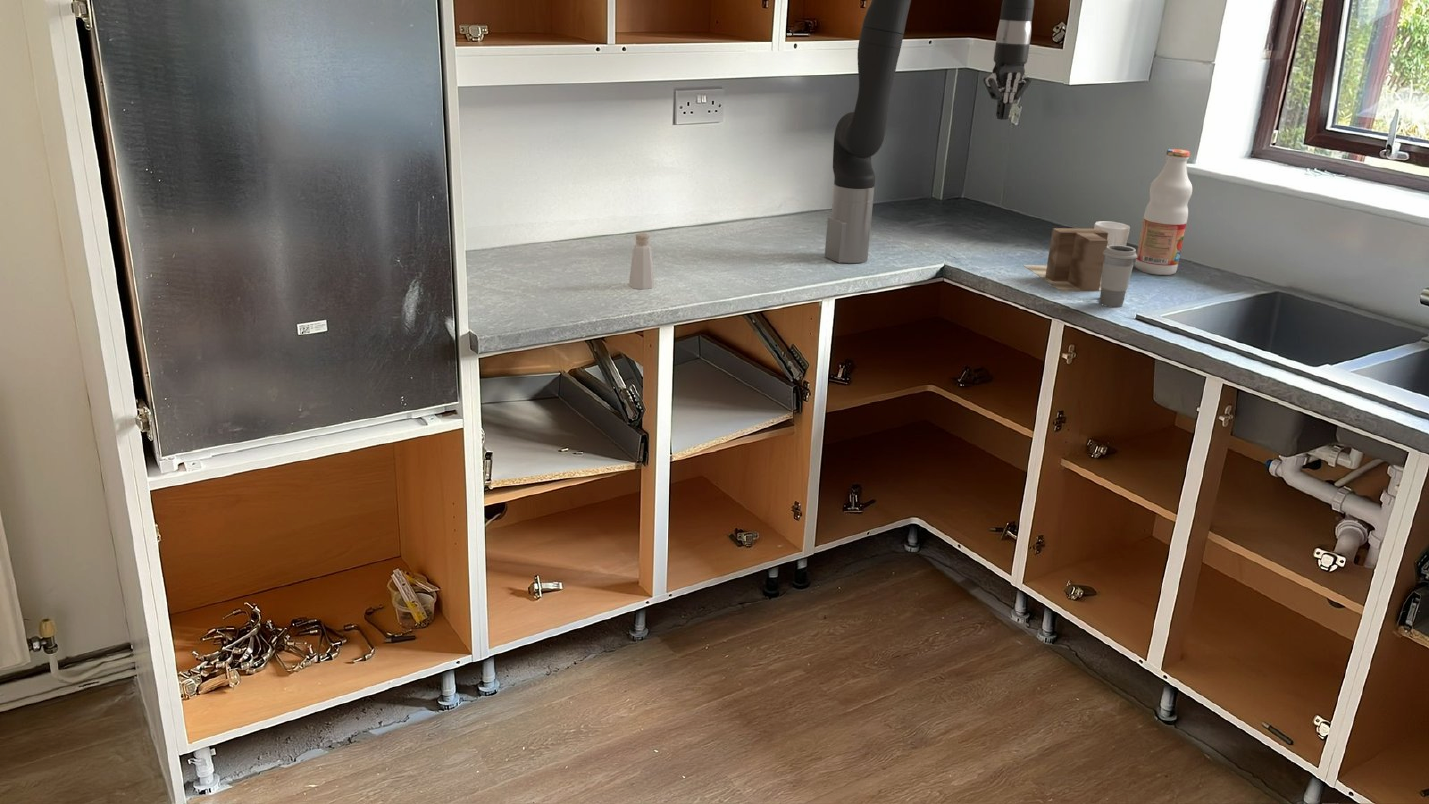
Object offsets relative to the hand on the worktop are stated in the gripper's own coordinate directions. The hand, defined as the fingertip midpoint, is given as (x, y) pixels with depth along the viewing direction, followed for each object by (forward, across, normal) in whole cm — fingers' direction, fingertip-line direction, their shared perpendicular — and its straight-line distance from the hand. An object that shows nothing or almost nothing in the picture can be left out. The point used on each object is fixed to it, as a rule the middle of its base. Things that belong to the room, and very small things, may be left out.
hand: (1002, 119), depth 256 cm
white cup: (+32, +20, -20) cm, 43 cm away
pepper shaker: (+32, -91, +1) cm, 97 cm away
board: (+32, +2, -27) cm, 42 cm away
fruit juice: (+32, +29, -27) cm, 51 cm away
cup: (+32, -3, -44) cm, 55 cm away
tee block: (+31, 0, -31) cm, 44 cm away
